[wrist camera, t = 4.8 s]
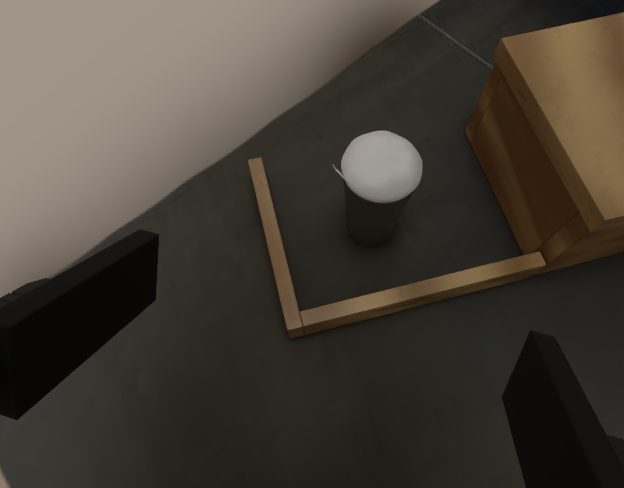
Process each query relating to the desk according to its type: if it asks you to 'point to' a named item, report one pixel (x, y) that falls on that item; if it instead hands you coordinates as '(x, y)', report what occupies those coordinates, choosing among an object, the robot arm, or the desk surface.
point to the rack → (517, 169)
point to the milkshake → (377, 184)
